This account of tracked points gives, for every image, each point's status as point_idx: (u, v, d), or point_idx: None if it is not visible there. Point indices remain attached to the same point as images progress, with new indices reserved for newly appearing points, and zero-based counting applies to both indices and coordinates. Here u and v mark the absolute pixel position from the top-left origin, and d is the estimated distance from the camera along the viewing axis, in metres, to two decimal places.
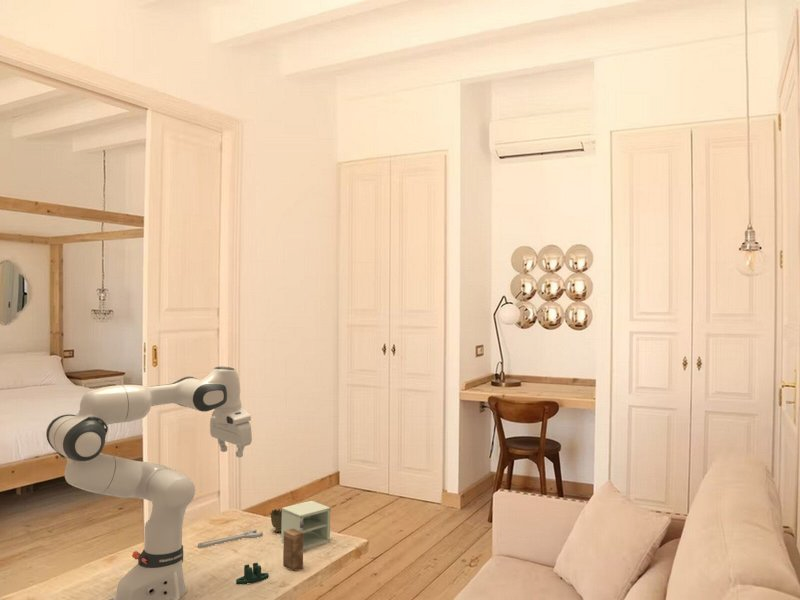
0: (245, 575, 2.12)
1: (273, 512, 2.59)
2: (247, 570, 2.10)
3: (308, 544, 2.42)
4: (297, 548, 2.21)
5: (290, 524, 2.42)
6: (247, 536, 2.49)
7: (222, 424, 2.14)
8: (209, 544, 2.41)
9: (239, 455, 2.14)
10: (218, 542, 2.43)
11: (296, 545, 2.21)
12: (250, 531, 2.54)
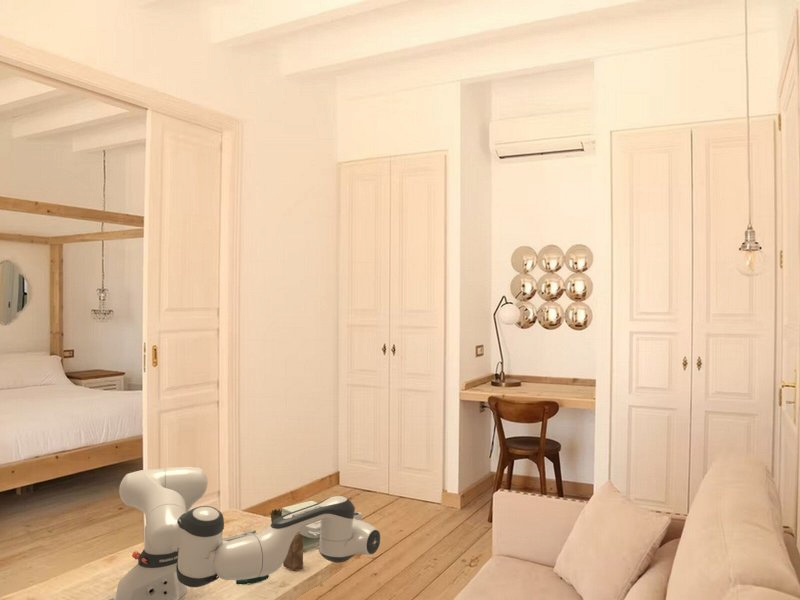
0: None
1: (273, 512, 2.59)
2: None
3: (308, 544, 2.42)
4: (297, 548, 2.21)
5: None
6: None
7: None
8: None
9: None
10: None
11: (296, 545, 2.21)
12: (249, 531, 2.53)
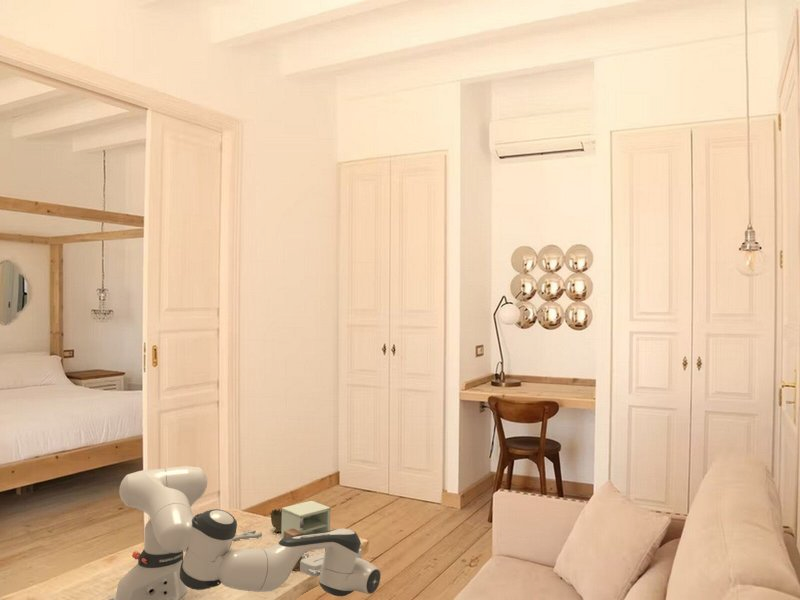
0: None
1: (273, 512, 2.59)
2: None
3: None
4: None
5: (290, 524, 2.42)
6: (246, 537, 2.49)
7: None
8: None
9: None
10: None
11: None
12: (249, 532, 2.53)
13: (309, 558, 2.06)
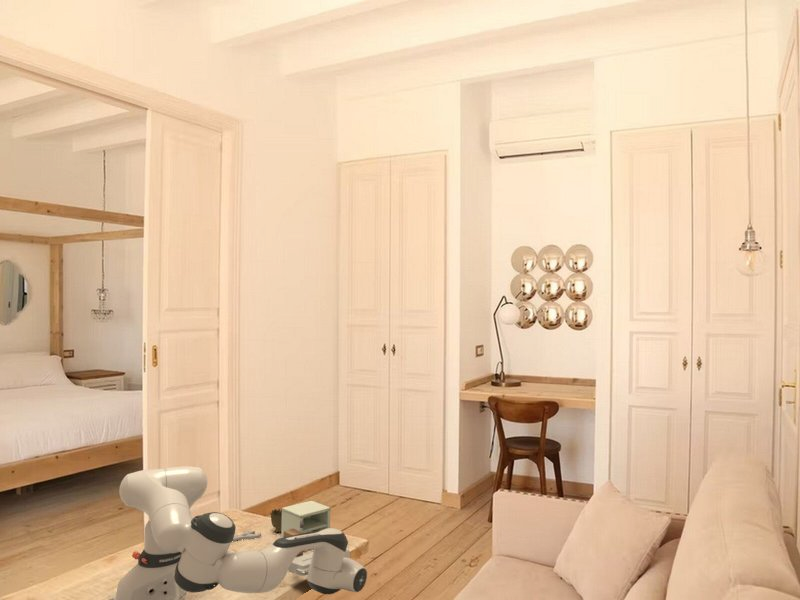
0: None
1: (273, 512, 2.59)
2: None
3: None
4: None
5: (290, 524, 2.42)
6: (246, 537, 2.48)
7: None
8: None
9: None
10: None
11: None
12: (249, 532, 2.53)
13: (297, 558, 2.11)
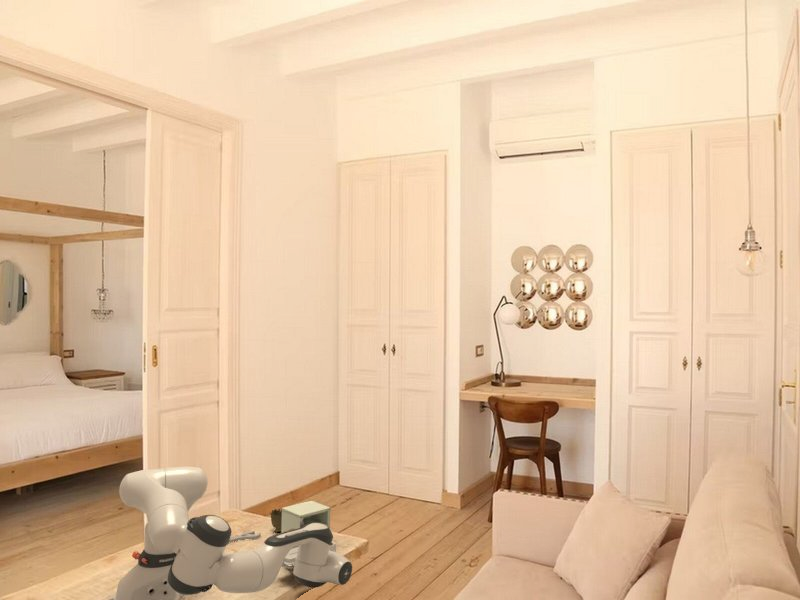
0: None
1: (273, 512, 2.59)
2: None
3: None
4: None
5: (290, 524, 2.42)
6: (245, 537, 2.48)
7: None
8: None
9: None
10: None
11: None
12: (248, 532, 2.52)
13: None
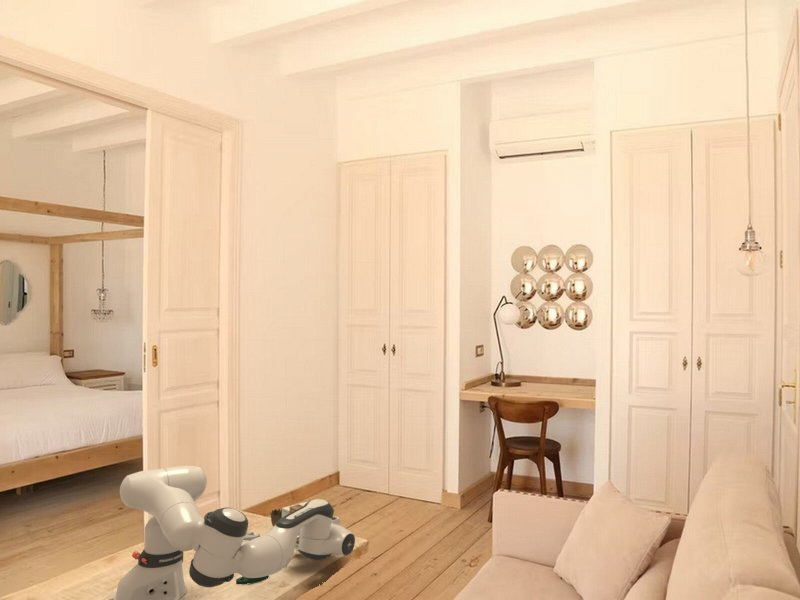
0: None
1: (273, 512, 2.59)
2: None
3: None
4: None
5: None
6: (244, 538, 2.47)
7: None
8: None
9: None
10: None
11: None
12: (247, 533, 2.51)
13: None
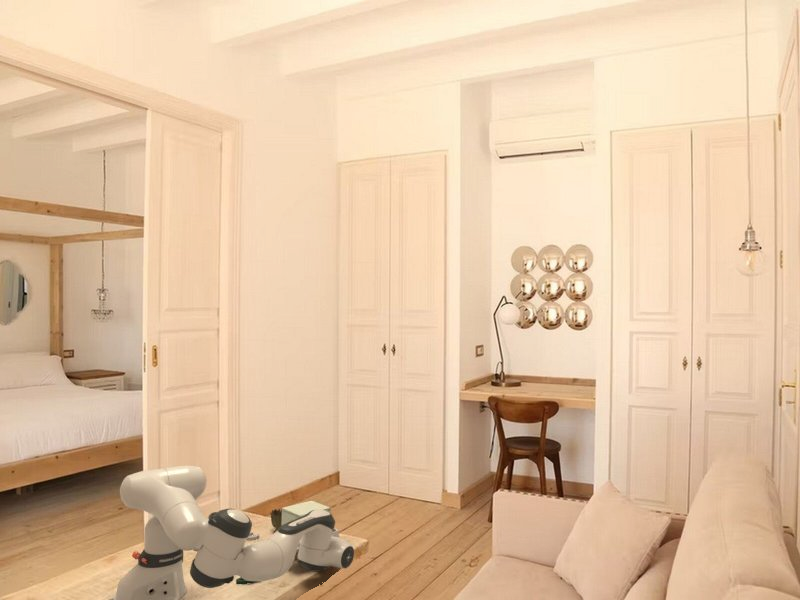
0: None
1: (273, 512, 2.59)
2: None
3: None
4: None
5: None
6: None
7: None
8: None
9: None
10: None
11: None
12: None
13: None
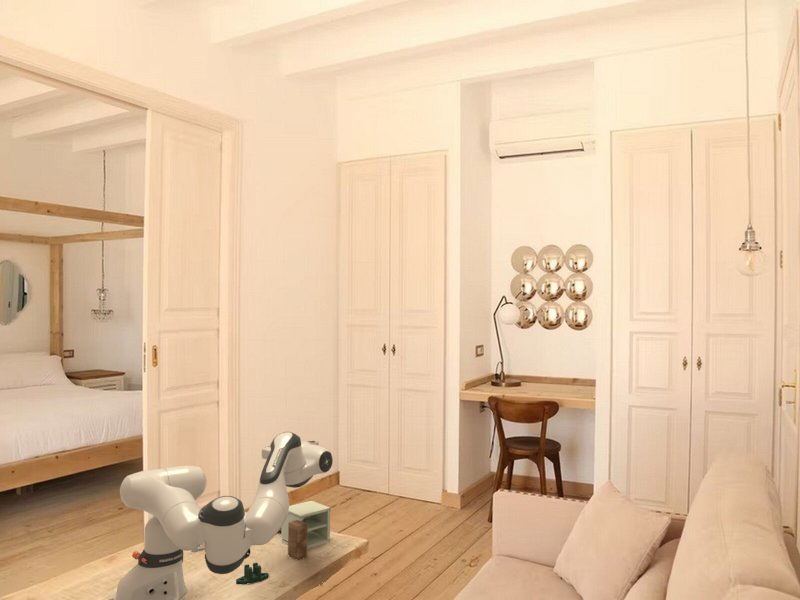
0: (245, 575, 2.12)
1: None
2: (247, 570, 2.10)
3: (308, 544, 2.42)
4: (302, 538, 2.30)
5: None
6: None
7: None
8: (203, 548, 2.37)
9: None
10: None
11: (300, 536, 2.30)
12: None
13: (270, 447, 2.29)
